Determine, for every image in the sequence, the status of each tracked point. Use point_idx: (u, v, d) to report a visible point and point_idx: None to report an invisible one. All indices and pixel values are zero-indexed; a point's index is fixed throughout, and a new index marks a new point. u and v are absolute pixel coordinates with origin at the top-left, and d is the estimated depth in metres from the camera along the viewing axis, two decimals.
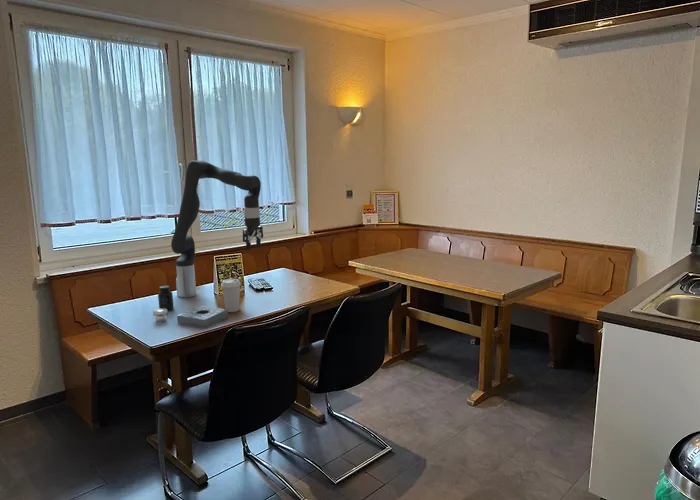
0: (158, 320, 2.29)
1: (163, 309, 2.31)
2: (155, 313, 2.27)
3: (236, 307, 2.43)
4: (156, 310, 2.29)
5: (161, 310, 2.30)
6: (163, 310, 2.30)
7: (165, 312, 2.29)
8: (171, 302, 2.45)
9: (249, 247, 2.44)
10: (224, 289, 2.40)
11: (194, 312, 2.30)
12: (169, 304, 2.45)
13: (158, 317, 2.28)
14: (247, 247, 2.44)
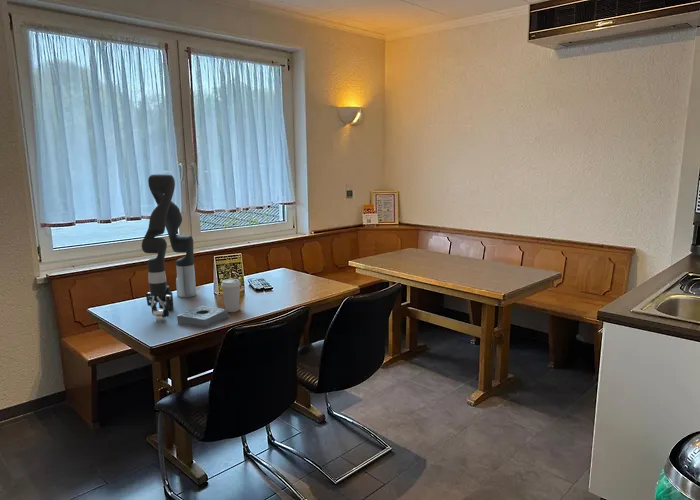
0: (158, 320, 2.29)
1: None
2: (155, 313, 2.27)
3: (236, 307, 2.43)
4: (156, 310, 2.29)
5: (161, 310, 2.30)
6: None
7: None
8: None
9: None
10: (224, 289, 2.40)
11: (194, 312, 2.30)
12: None
13: (158, 317, 2.28)
14: (166, 313, 2.28)
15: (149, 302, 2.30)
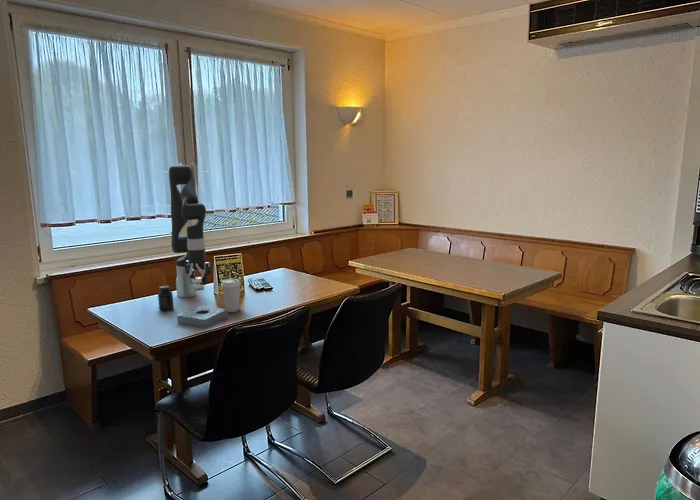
0: (196, 288, 2.25)
1: (201, 277, 2.28)
2: (194, 281, 2.24)
3: (236, 307, 2.43)
4: (194, 278, 2.26)
5: (199, 278, 2.26)
6: (201, 278, 2.26)
7: None
8: (171, 302, 2.45)
9: None
10: (224, 289, 2.40)
11: (194, 312, 2.30)
12: (169, 304, 2.45)
13: (196, 285, 2.25)
14: None
15: (187, 270, 2.27)
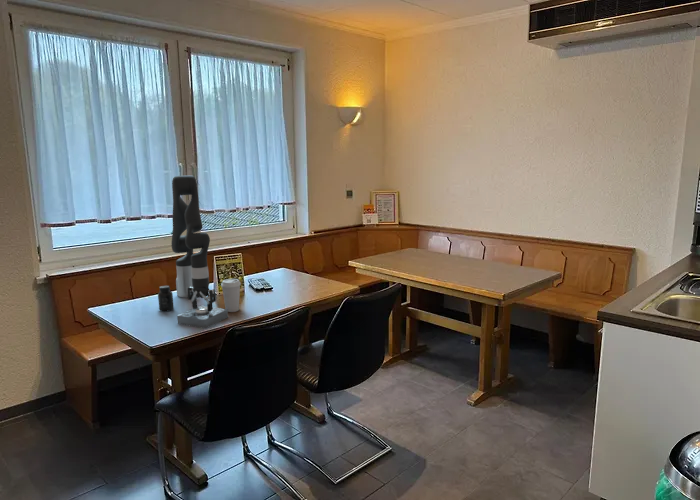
0: None
1: (205, 308, 2.31)
2: (198, 312, 2.27)
3: (236, 307, 2.43)
4: (198, 309, 2.29)
5: (203, 309, 2.30)
6: (205, 309, 2.30)
7: (208, 311, 2.29)
8: (171, 302, 2.45)
9: None
10: (224, 289, 2.40)
11: (194, 312, 2.30)
12: (169, 304, 2.45)
13: None
14: (210, 308, 2.27)
15: (190, 296, 2.30)
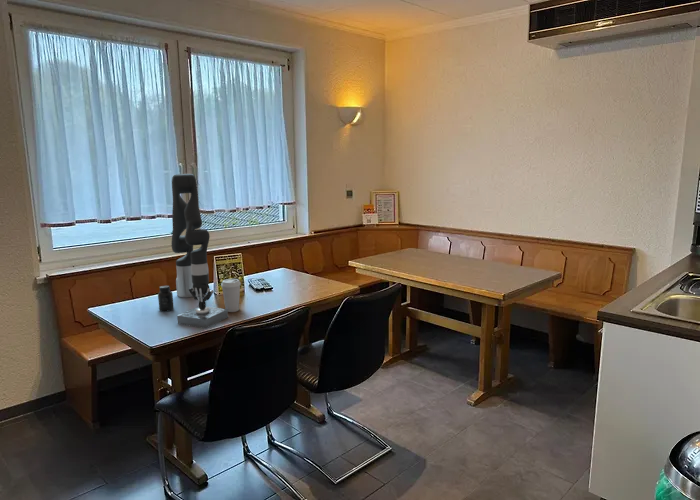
0: None
1: (205, 308, 2.31)
2: (198, 312, 2.27)
3: (236, 307, 2.43)
4: (198, 309, 2.29)
5: (203, 309, 2.30)
6: (205, 309, 2.30)
7: (208, 311, 2.29)
8: (171, 302, 2.45)
9: None
10: (224, 289, 2.40)
11: (194, 312, 2.30)
12: (169, 304, 2.45)
13: None
14: (203, 306, 2.29)
15: (195, 296, 2.29)
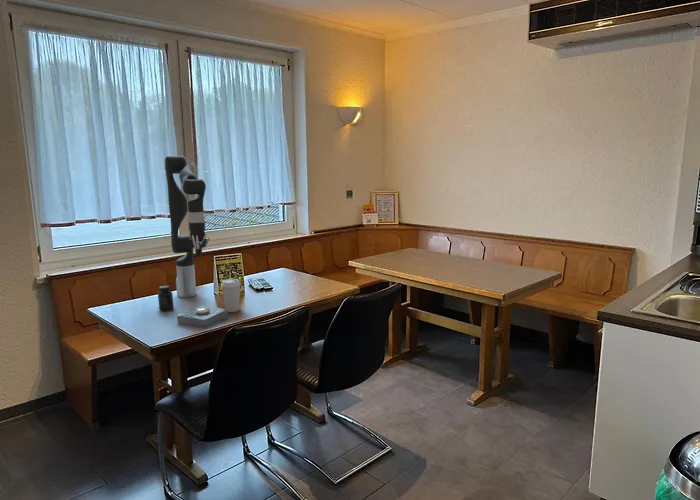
0: None
1: (205, 308, 2.31)
2: (198, 312, 2.27)
3: (236, 307, 2.43)
4: (198, 309, 2.29)
5: (203, 309, 2.30)
6: (205, 309, 2.30)
7: (208, 311, 2.29)
8: (171, 302, 2.45)
9: None
10: (224, 289, 2.40)
11: (194, 312, 2.30)
12: (169, 304, 2.45)
13: None
14: None
15: (192, 243, 2.42)
